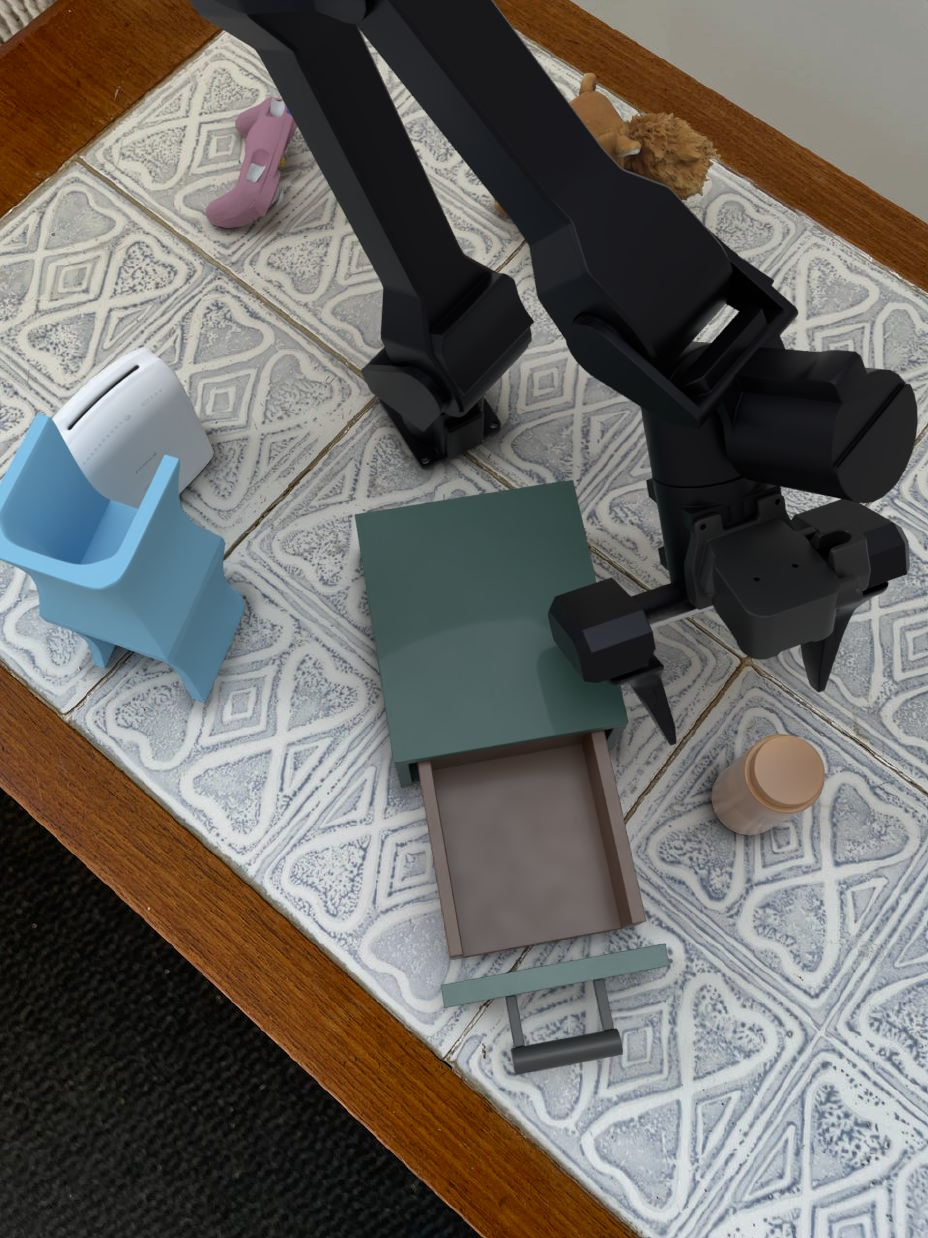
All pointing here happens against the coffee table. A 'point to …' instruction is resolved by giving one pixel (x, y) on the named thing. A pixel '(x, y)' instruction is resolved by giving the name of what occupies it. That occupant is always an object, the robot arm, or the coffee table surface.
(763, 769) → the tan lidded cylinder
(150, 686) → the coffee table surface
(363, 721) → the coffee table surface
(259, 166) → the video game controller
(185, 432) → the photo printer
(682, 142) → the stuffed squirrel
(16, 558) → the light blue toy chair
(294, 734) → the coffee table surface
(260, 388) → the coffee table surface
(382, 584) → the cabinet
